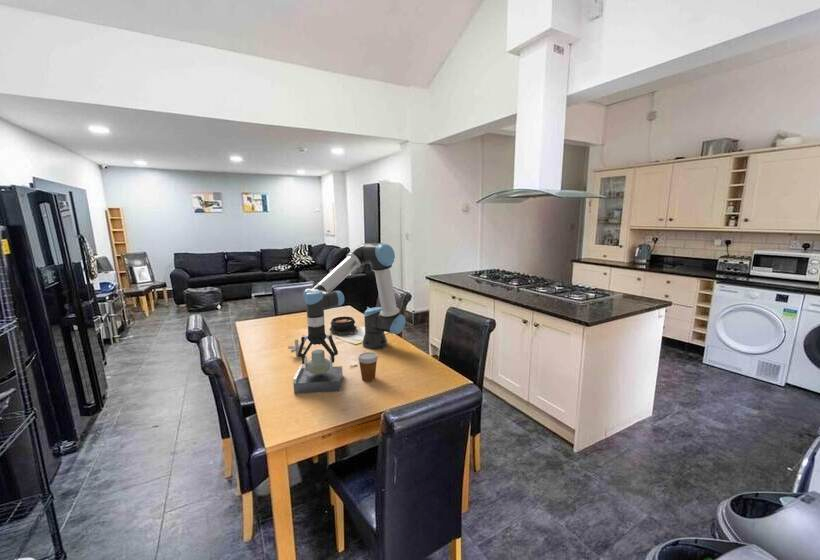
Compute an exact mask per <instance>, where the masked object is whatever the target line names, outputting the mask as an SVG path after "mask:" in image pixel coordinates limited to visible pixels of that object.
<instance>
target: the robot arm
mask: <svg viewBox="0 0 820 560" xmlns="http://www.w3.org/2000/svg"><path fill="white" fill-rule="evenodd" d="M395 259H396V255H395V251H394V249H393V247H392V246H391V245H390V244H387V243H382V242H381V243H380V242H379V243H374V242H364V243H362V244H360V245H357V246H356V247H355V248H353V249H352V250H350V251H349V252H348V253H347V254H346V257H345V258H344V260H342V261H341V262H340V263H339V264H338V265H337V266H336V267H334V268H333V269H332V270H331V271H330V272H329V273H328V274H327V275H326V276H325V277H323V279H321V280H320V281H319V282H318V283H317V284H316V285H314V286H313V287H308V288H306V289H304V290H303V293H302V299H303V301H304V302H305V305H306V306H305V307H306V321H307V334H308V335H302V336H301V337H300V338H301V339H300V341H301V342H300V343H301V345H300V349H299V352H298V355H297V356H298V358H301V364H303V365H304V368H305V371H307V364H308V355H307V353H308V352H309V350H310V349H311V347H312V345H313V346H317V345H319V346H320V345H322V346H323V348H324V349H325V350H326V351H327V352H328V354H329V361H330V370H332V368H333V367H334V366H333V363H335V360H336V359H335V356H338V354H339V351H338V349H337V346H336V344H335V342H334V339H333V334H331V333H330V334H326V326H325V311H327V310H330V309H335V308H338V307H340V306H342V305H343V304H344V303H345V296H344V293H343V292H342V291H341V290H334V289H336V287H338V285H340V283H342V281H344V280H345V278H347V277H348V276H349V275H350V274H351V273H353V271H354V270H356V269H358V268H360V267H361V266H363V265H370V269H371V271H372V272H374V276H375V282H376V286H377V291H378V292H377V293H378V297H379V302H380V306H377V307H376V306H375V307H369V308H367V309H366V310H365V311H364V317H363V318H364V336H363V338H362V339H363V340H362V346H363V347H364V348H366V349H369V350H371V349H372V350H376V349H377V350H378V349H383V348H384V347H387V345H388V340H387V337H386V334H385V333H390V334H392V335H399V334H401V332H402V331H403V330H404V327H405V325H406V317H405V315H403V314H401V310H400V308H399V307H397V303H396V299H395V298H396V296H395V291H394V286H393V280H392V274H391V269H392V267H393V264H394V262H395ZM326 339H327V340H328V341H329V344H328V343H327V341H326ZM307 340H308V341H309V343H308V345H307V347H306V349H305V350H303V347H305V346H304V345H305V342H306V341H307ZM329 345H330V346H331V347H330V346H329ZM302 352H303V353H302Z"/></svg>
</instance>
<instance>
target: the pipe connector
mask: <svg viewBox="0 0 820 560" xmlns="http://www.w3.org/2000/svg"><path fill="white" fill-rule="evenodd" d="M300 345H301V342H299V338H295V339H294V345H288V346H287V349H289V350H290V352H291V353H292V354H293V353H295V357H296V356H297V355H298V352H299V349H300ZM306 348H307V347H306V346H303V350H302V351H305V350H306Z"/></svg>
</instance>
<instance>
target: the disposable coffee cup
mask: <svg viewBox="0 0 820 560" xmlns="http://www.w3.org/2000/svg"><path fill="white" fill-rule="evenodd" d="M378 359H379V357H378V355H377V353H375V352H363V353H360V354H359V355H358V358H357V360H358V362H359V369H360V370H359V371H360V374H361V380H362V381H363V382H365V383H370V382H373V381H374V380H376V374H377V373H376V372H377V361H378Z"/></svg>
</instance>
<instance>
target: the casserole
mask: <svg viewBox="0 0 820 560" xmlns="http://www.w3.org/2000/svg"><path fill="white" fill-rule="evenodd" d="M355 323H356V320H355V319H354V318H353V317H351V316H337V317H334V318H332V319H331V321H330V324H329V325H330V327H329V331H330V332H331V333H334V334H338V335H350V334H353V333H355V332H357V328H358V327H357V325H355Z"/></svg>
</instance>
